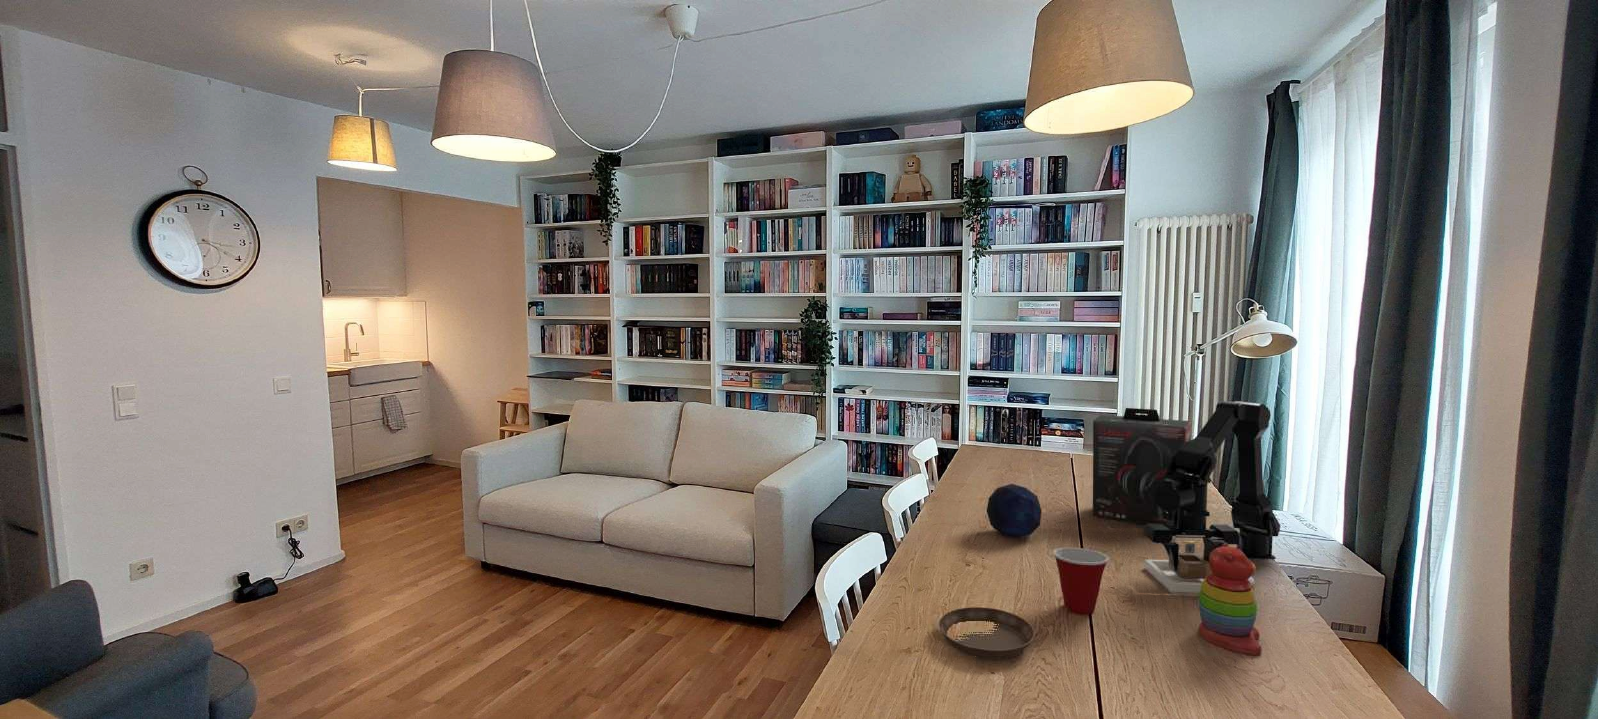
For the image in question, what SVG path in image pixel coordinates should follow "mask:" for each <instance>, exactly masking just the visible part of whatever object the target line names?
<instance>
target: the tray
mask: <svg viewBox="0 0 1598 719" xmlns="http://www.w3.org/2000/svg"><path fill="white" fill-rule="evenodd" d="M1144 570H1146V571H1147V572H1148V573H1149V574H1150V575H1152V577H1153V578H1154V579H1156V580H1157V582H1159V583H1160V584H1161V585H1162V586H1163V587H1164V588H1165V589H1166V590H1167V591H1168V592H1169V593H1170V595H1173V596H1174V595H1175V596H1176V595H1177V596H1180V595H1182V596H1199V592H1200V589H1201V585H1202V582H1203V580H1204V579H1182V578H1180V577H1179V576H1178V575H1177V574H1176V573H1175V572H1174V571H1172V570H1171V569H1170V568H1169V559H1144Z"/></svg>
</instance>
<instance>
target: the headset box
mask: <svg viewBox="0 0 1598 719" xmlns="http://www.w3.org/2000/svg"><path fill="white" fill-rule="evenodd" d="M1191 430H1192V429H1191V421H1190V420H1184V419H1183V420H1182V419H1164V418H1160V415H1159V413H1158V410H1157V409H1154V408H1153V409H1151V408H1135V407H1125V409H1124V413H1123V416H1122V415H1111V414H1110V415H1107V414H1102V415H1101V414H1100V415H1099V416H1097V418H1095V419H1094V420H1093V421H1092V440H1093V441H1092V517H1094V516H1096V518H1100V519H1101V518H1103V519H1109V520H1115V521H1121V522H1122V521H1123V522H1127V523H1133V524H1134V523H1135V524H1140V525H1146V524H1163V525H1164V526H1166V527H1167V528H1168V529H1177V527H1174V526H1172V524H1167V522H1166V520H1159V518H1158V505H1157V503H1156V501H1155V498H1154V494H1155V492H1156V490H1157V489H1158V488H1159V487H1160V486H1163V485H1164V480H1166V479H1170V478H1165V474H1166V471H1167V469H1168V466H1169V464H1170V462H1171V459H1172V457H1173V455H1174V453H1175V452H1176V450H1177V449H1178V448H1179V447H1180V446H1181V445H1182V444H1183V443H1185V442H1187V441H1190V440H1191ZM1176 472H1179V471H1178V470H1177V471H1176ZM1179 473H1183V472H1179ZM1184 474H1188V473H1184ZM1189 475H1191V474H1189Z"/></svg>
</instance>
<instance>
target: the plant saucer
mask: <svg viewBox="0 0 1598 719" xmlns="http://www.w3.org/2000/svg"><path fill="white" fill-rule="evenodd" d="M966 621H986V622H987V621H988V622H989V621H990V622H994V624H997V625H994V626H996V627H993V628H994V629H997V630H991V631H994V632H990V633H993V634H982V633H983V632H978V633H981V634H970V635H969V634H968V635H967V634H963V635H964V636H959V637H962V638H963V637H964V638H966V637H967V638H969V639H967V638H966V639H961V640H962V641H960V640H959V641H955V640H958V639H955V640H953V639H951V638H950V637H948V636H947V631H948V629H949V628H950V627H951V626H952V625H953V624H957V623H959V622H966ZM998 624H999V625H998ZM997 626H998V627H997ZM938 628H939V630H940V632H941V634H942V635H943V637H944V639H946V640H947V642H948V643H949V644H950V645H951V646H952V647H954V649H956V650H957V651H959V650H960V651H959V652H961V651H962V653H963V652H964V654H966V655H968V654H969V656H971V655H972V656H971V657H975V656H976V658H979V659H986V658H987V660H1002V659H1003V658H1004V659H1008V658H1013V657H1015V656H1017V655H1019V654H1021V653H1022V652H1023V651H1025V650H1027V648H1028V647H1029V646H1030V644H1031V643H1032V641H1033V640H1034V638H1035V629H1034V627H1033V626H1032V625H1031V623H1029V622H1028V621H1027V620H1026V619H1025V618H1022V617H1021V616H1019V615H1017V614H1015V613H1013V612H1009V611H1006V610H1002V609H997V608H991V607H981V606H980V607H978V606H977V607H975V606H973V607H972V606H970V607H962V608H957V609H953V610H951V611H948V612H947V613H945V614H944V615H942V616H941V617H940V619H939V621H938ZM987 631H988V630H987ZM989 631H990V630H989ZM969 633H970V632H969ZM971 633H972V632H971ZM973 633H977V632H973ZM984 633H985V632H984ZM986 633H987V632H986ZM988 633H989V632H988ZM965 635H966V636H965ZM981 635H982V636H981ZM983 635H984V636H983ZM956 637H958V636H956ZM963 640H964V641H963ZM1004 659H1003V660H1004Z"/></svg>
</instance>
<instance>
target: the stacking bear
mask: <svg viewBox="0 0 1598 719" xmlns="http://www.w3.org/2000/svg"><path fill="white" fill-rule="evenodd" d="M1209 564H1210V568H1211V571H1212V572H1211V573H1209V574H1208V575H1207V576H1206V578H1205V579H1204V580H1203V582H1202V585H1201V589H1200V592H1199V595H1198V599H1197V600H1198V602H1197V603H1198V611H1199V614H1200V619H1201V622H1200V624H1199V626H1198V634H1199V635H1200V636H1201V637H1202V638H1203V639H1204V640H1205V641H1207V642H1210V643H1212V644H1214V645H1216V646H1218V647H1222V648H1223V649H1226V650H1230V651H1231V652H1232V651H1233V652H1235V653H1236V652H1237V653H1240V654H1244V655H1249V656H1250V655H1251V656H1257V655H1260V654H1262V646H1261V645H1260V643H1259V641H1257V640H1258V639H1260V632H1259V630H1258V629H1257V628H1256V627H1255V626H1254V624H1255V622H1256V618H1257V613H1258V612H1257V611H1258V605H1257V601H1256V596H1255V590H1254V591H1253V588H1252V584H1251V583H1250V581H1249V580H1248V579H1249V578H1250V577H1252V576H1253V575H1254V574H1255V572H1256V570H1257V567H1256V565H1255V564H1254V563H1253V562H1252V561H1251V560H1250V558H1247V557H1246V556H1245V554H1244V553H1243V552H1242V551H1241V550H1239V549H1237V547H1235V546H1234V547H1233V546H1229V544H1228V543H1224V544H1223V545H1222V547H1218V548H1216V549H1214V550H1213V551H1212V552H1211V554H1210V556H1209Z"/></svg>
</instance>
